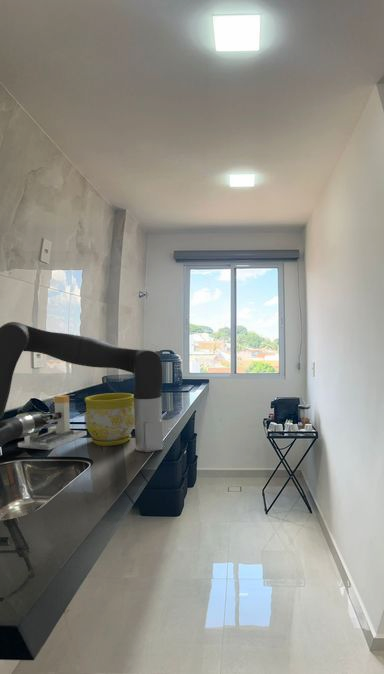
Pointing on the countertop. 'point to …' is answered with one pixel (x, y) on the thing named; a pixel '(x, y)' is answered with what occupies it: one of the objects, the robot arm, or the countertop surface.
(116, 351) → the robot arm
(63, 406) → the white bottle
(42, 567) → the countertop surface
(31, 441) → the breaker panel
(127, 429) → the flowerpot
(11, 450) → the countertop surface
